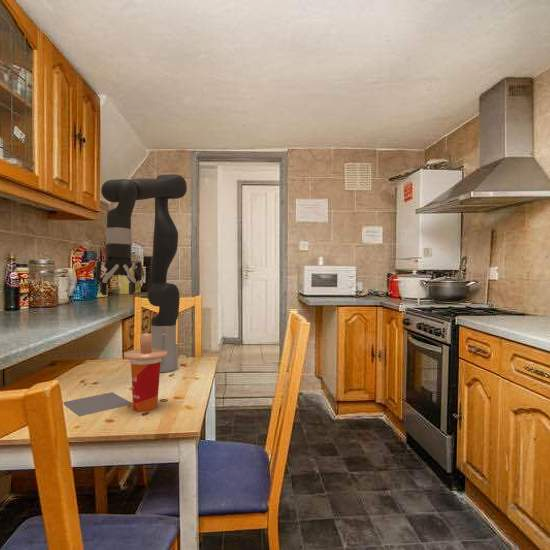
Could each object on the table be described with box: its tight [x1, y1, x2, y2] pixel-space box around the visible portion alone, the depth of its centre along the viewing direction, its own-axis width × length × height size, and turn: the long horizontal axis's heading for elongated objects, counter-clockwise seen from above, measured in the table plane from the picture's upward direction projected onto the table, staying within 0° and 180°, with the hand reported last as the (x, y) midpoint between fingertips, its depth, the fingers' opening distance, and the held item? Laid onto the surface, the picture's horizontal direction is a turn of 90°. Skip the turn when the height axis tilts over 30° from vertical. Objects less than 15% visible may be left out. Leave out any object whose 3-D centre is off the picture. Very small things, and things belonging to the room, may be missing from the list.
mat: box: [63, 391, 133, 417], centre depth 108 cm, size 14×14×1 cm
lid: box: [123, 332, 167, 360], centre depth 105 cm, size 11×11×6 cm
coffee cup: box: [129, 358, 162, 413], centre depth 105 cm, size 8×8×15 cm
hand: (117, 294), depth 123 cm, fingers open, 8 cm apart
